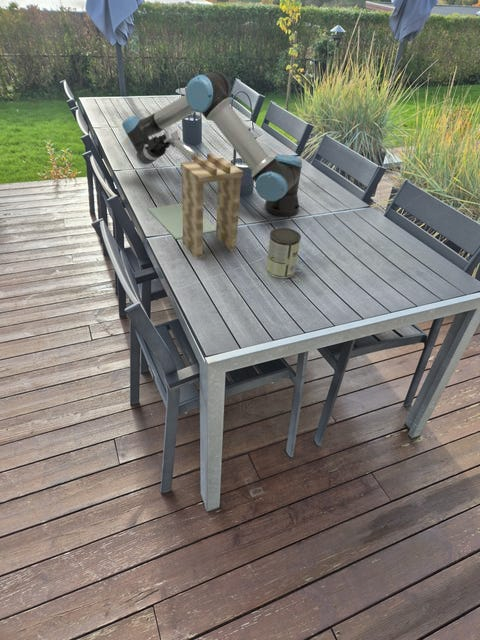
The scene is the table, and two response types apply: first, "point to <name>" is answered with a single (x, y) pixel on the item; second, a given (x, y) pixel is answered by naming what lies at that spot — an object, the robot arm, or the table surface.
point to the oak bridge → (226, 201)
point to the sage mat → (176, 220)
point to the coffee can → (282, 252)
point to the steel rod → (182, 147)
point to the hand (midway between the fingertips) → (174, 134)
